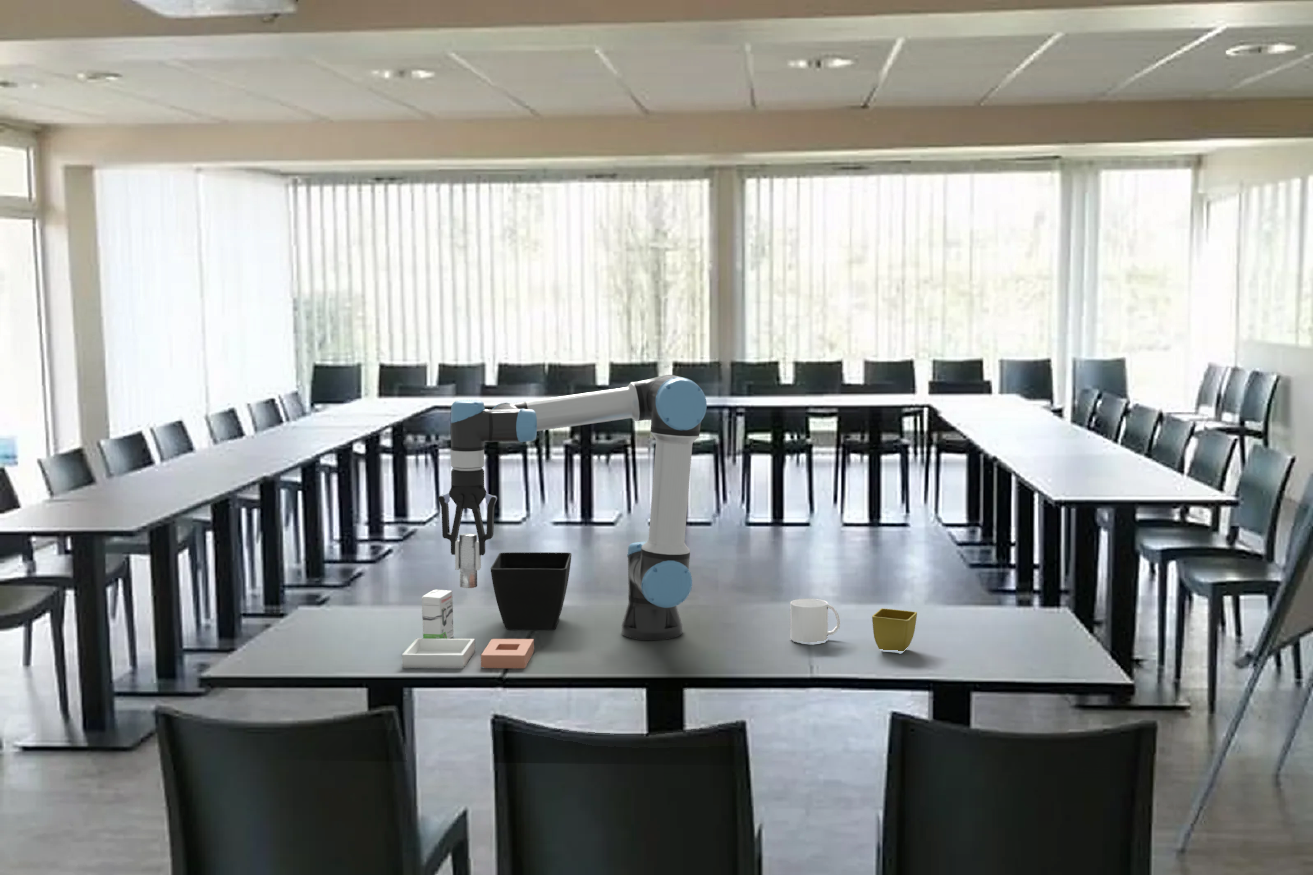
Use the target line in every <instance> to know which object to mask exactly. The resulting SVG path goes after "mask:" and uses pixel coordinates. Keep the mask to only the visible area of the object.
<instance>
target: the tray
mask: <svg viewBox="0 0 1313 875" xmlns="http://www.w3.org/2000/svg"><path fill="white" fill-rule="evenodd" d="M475 653H476V639H475V638H450V639H423V638H419V637H418V638H415V639H414V641H413V642H412V643H411V644H410V645H409V646H408V647H407V648H406V649H405V651H404V652H402V654H401V660H402V661H401V667H402V669H464V668H465V667H466V665H467V664H468V663H469V661H470V660H469V659H471V658H472V657H473V656H474V654H475ZM471 656H472V657H471ZM467 662H468V663H467ZM464 666H465V667H464Z"/></svg>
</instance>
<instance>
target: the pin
mask: <svg viewBox="0 0 1313 875" xmlns="http://www.w3.org/2000/svg"><path fill="white" fill-rule="evenodd" d="M458 538H459V539H458V540H459V543H460V569H459V587H460V588H461V589H474V588H477V587H478V570H476V549H475V542H477V540H478V534H477V533H460V534H458Z"/></svg>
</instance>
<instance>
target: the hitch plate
mask: <svg viewBox="0 0 1313 875" xmlns="http://www.w3.org/2000/svg"><path fill="white" fill-rule="evenodd" d="M534 640H535V639H534V638H491V639H490V641H489V642H488V644H487V646H486V647H485V648H484V649H483V652H482V653H481V655H480V668H481V667H484V668H483V669H526V667H527V665H528V663H529V662H530V660H531V658H532V657H533V654H534V652H535V641H534Z"/></svg>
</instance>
